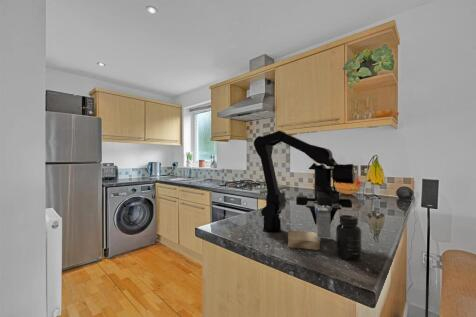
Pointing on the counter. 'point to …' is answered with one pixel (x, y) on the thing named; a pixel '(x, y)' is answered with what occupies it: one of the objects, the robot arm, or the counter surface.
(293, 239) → the oak block
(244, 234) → the counter surface
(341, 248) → the supplement bottle
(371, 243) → the counter surface
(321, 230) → the medicine box
